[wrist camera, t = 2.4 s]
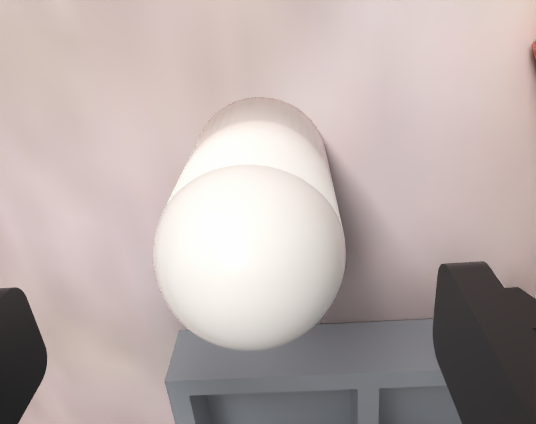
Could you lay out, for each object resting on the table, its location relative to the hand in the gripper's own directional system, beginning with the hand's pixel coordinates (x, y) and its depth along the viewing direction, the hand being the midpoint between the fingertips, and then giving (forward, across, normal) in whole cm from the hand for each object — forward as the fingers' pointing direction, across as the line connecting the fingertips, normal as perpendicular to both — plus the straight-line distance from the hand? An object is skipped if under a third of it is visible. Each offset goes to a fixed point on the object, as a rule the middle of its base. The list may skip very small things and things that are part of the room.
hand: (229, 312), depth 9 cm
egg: (+8, 0, 0) cm, 9 cm away
